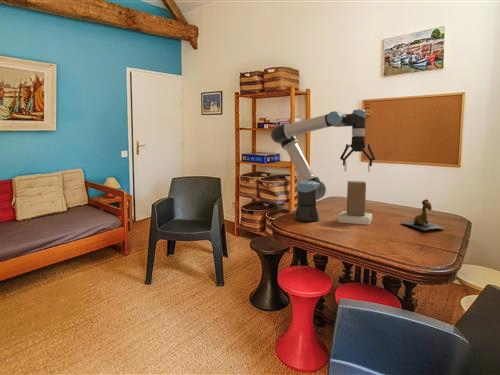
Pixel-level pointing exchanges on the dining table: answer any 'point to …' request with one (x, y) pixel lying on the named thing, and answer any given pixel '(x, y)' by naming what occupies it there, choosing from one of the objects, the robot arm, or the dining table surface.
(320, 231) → the dining table surface
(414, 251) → the dining table surface
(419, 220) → the stuffed giraffe
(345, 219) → the picture frame
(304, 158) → the robot arm
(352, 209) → the wooden block
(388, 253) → the dining table surface
